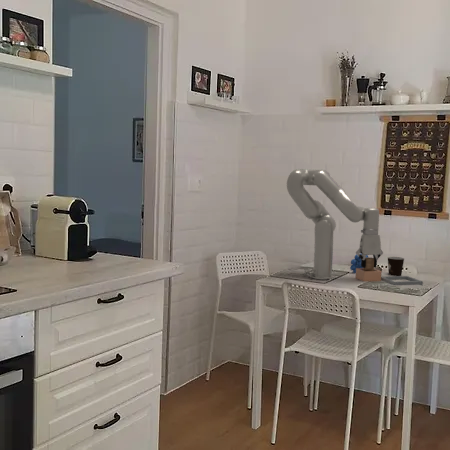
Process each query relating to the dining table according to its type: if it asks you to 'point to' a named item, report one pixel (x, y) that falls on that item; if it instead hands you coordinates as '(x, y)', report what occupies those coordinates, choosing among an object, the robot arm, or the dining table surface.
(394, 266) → the coffee mug
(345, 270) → the dining table surface
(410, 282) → the tray
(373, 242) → the robot arm
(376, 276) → the orange block with hole
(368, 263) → the tan upright block
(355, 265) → the grapes
